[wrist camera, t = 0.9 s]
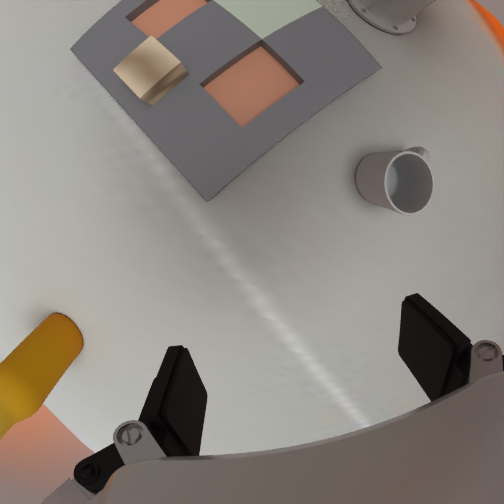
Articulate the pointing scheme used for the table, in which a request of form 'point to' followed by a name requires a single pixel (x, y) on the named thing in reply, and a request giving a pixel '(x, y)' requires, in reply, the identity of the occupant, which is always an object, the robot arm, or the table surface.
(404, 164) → the cup
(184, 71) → the beech block
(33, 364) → the beer bottle
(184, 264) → the table surface
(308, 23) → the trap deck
